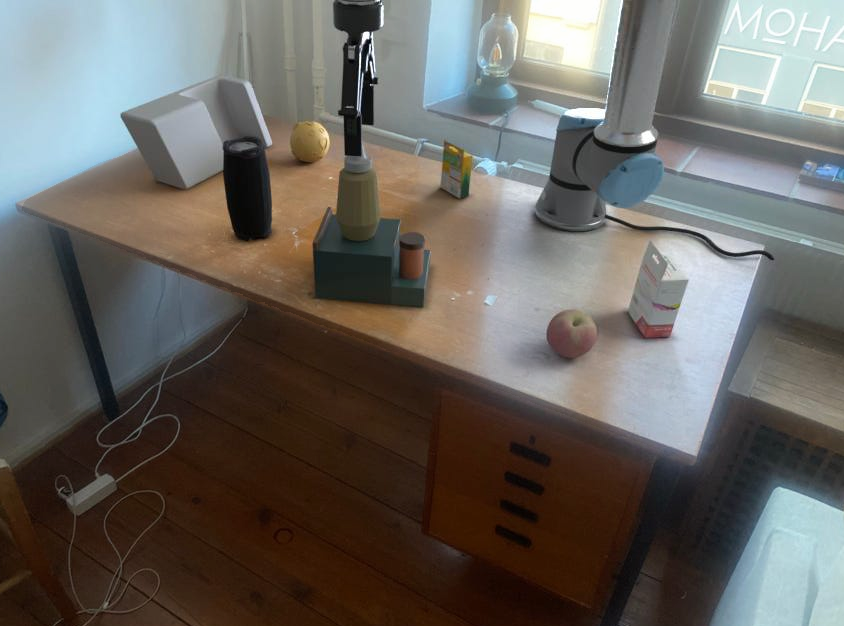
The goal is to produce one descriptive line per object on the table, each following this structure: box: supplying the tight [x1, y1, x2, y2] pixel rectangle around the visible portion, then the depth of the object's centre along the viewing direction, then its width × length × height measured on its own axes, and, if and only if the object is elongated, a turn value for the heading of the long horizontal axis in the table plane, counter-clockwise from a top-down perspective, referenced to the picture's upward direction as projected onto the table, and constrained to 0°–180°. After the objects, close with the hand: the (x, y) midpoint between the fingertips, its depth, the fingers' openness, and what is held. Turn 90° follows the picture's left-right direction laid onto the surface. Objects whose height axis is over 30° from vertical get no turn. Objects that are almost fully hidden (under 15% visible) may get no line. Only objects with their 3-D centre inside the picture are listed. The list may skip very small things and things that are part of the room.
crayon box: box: [440, 139, 473, 200], centre depth 163 cm, size 7×3×12 cm, turn 34°
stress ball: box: [289, 120, 331, 163], centre depth 176 cm, size 10×10×10 cm
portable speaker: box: [222, 136, 273, 243], centre depth 143 cm, size 9×9×20 cm
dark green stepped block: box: [311, 206, 432, 308], centre depth 131 cm, size 20×14×12 cm
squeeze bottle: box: [335, 142, 381, 241], centre depth 123 cm, size 8×8×18 cm
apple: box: [545, 309, 598, 359], centre depth 116 cm, size 8×8×8 cm
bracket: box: [119, 74, 273, 191], centre depth 169 cm, size 30×10×30 cm, turn 149°
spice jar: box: [399, 231, 426, 279], centre depth 128 cm, size 5×5×7 cm
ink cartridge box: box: [627, 240, 690, 339], centre depth 121 cm, size 9×5×15 cm, turn 5°
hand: (360, 139), depth 118 cm, fingers open, 13 cm apart
